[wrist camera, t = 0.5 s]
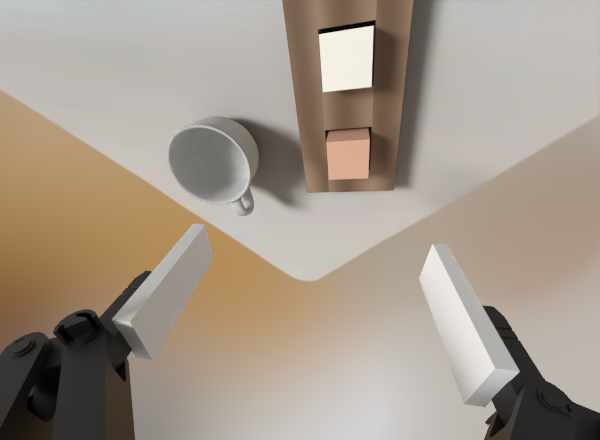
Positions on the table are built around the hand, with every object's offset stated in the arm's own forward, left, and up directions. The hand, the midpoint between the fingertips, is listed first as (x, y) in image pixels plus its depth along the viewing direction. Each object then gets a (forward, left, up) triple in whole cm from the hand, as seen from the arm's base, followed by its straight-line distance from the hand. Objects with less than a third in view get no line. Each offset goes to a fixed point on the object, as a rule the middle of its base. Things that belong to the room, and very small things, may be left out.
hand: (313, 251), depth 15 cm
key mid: (-2, -8, -22) cm, 23 cm away
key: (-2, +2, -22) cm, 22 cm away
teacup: (+15, +3, -24) cm, 29 cm away
